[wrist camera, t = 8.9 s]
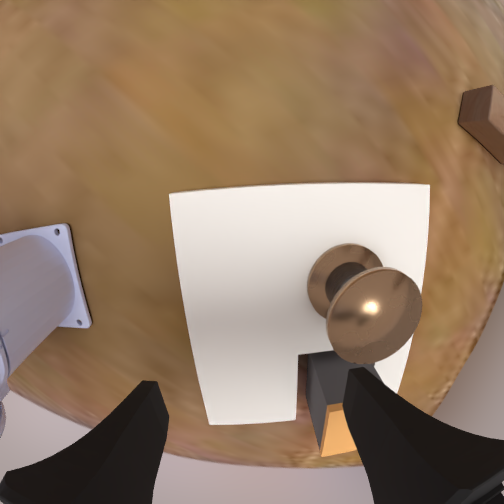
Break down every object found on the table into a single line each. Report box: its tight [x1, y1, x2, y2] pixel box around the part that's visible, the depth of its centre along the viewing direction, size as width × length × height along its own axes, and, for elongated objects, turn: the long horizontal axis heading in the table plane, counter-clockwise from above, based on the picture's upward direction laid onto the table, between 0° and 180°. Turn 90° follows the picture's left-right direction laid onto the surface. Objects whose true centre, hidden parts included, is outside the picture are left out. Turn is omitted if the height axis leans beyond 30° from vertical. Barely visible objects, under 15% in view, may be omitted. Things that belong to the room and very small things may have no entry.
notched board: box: [169, 182, 430, 425], centre depth 19 cm, size 16×18×2 cm
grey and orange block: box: [306, 350, 383, 457], centre depth 18 cm, size 4×5×7 cm
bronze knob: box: [307, 243, 422, 364], centre depth 15 cm, size 5×5×5 cm
